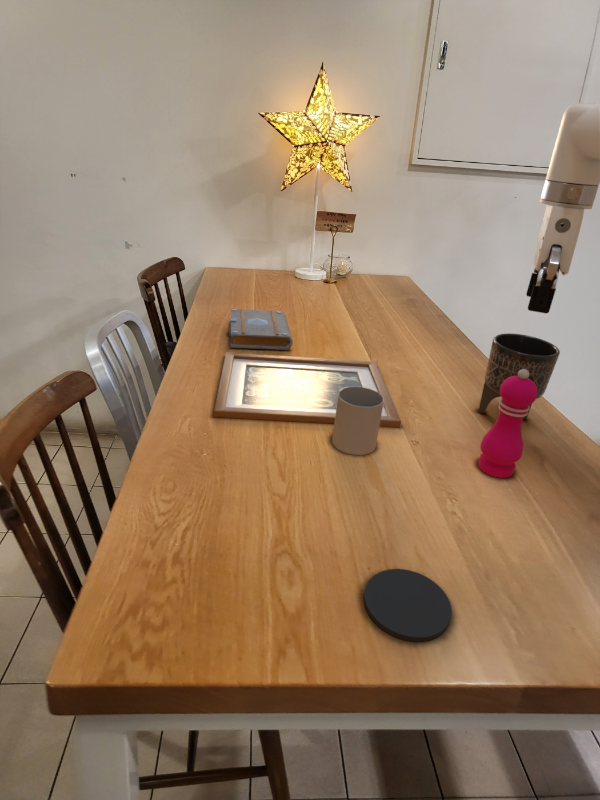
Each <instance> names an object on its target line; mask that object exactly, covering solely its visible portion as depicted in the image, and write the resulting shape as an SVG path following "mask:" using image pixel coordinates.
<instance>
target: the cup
mask: <svg viewBox="0 0 600 800" xmlns="http://www.w3.org/2000/svg"><path fill="white" fill-rule="evenodd" d="M383 403H384V399H383V396H382V395H381V394H379V393H378V392H376V391H374V390H372V389H369V388H364V387H347V388H343V389H342V390H340V391H339V394H338V401H337V408H336V416H335V423H334V424H333V431H332V438H331V439H332V440H331V444H332V445H333V446H334V447H335V449H336V450H339V451H340V452H343V453H345V454H349V455H353V456H364V455H368V454H371V453H373V452H374V450H376V447H377V440H378V437H379V430H380V427H381V426H380V420H381V414H382V409H383Z"/></svg>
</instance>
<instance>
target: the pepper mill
mask: <svg viewBox="0 0 600 800" xmlns="http://www.w3.org/2000/svg"><path fill="white" fill-rule="evenodd" d="M528 377H529V371H528V370H526V369H522V370H520V371H519V372H518V376H511V377H509V378H507V379H506V380H504V382H503V383H502V385H501V387H500V395H501V397H500V399H499V404H498V407H497V408H498V410H499V413H498V416H497V419H496V421H495V423H494V424H493V425H492V426H491V427H490V428H489V429H488V431H487V432H486V433H485V434H484V436H483V437H482V440H481V442H480V446H479V447H480V451H481V454H480V455H479V459H478V463H477V466H478V467H479V469H480V470H481V471H482V472H483V473H485V474H487V475H489V476H491V477H495V478H500V479H501V478H502V479H504V478H505V479H506V478H510V477H511V476H512V475H513V474H514V472H515V468H516V463H517V462H518V461H520V459H521V458H522V456H523V452H524V440H523V436H522V424H523V421H524V420H523V418H524V416H527V415H528V416H529V414H528V410H529V409H530V410H531V408H530V407H529V405H530V404H532V405H533V403H534V402H535V401H536V400H537V399H536V397H537V386H536V385H535V383H534V382H533V381H532V380H530V379H529V378H528ZM528 416H527V417H528Z"/></svg>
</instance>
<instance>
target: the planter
mask: <svg viewBox="0 0 600 800" xmlns="http://www.w3.org/2000/svg"><path fill="white" fill-rule="evenodd" d="M560 354H561V351H560V349H559V348H558V346H557V345H555V344H553V343H551V342H549V341H547V340H545V339H542V338H538V337H535V336H531V335H526V334H521V333H499V334H497V335H495V336H494V337H493V338H492V343H491V347H490V352H489V356H488V361H487V365H486V371H485V374H484V375H485V376H484V383H483V388H482V393H481V397H480V401H479V402H480V403H479V407H478V410H477V411H478V413H481V414H485V413H486V411H487V409H488V407H489V404H491V402H492V401H493V400H494V399H496V398H502V397H501V395H500V387H501V385H502V383H503V382H504V380H506V379H507V378H509V377H511V376H518V372H519V371H520V370H522V369H526V370H528V371H529V377H528V378H529V379H530V380H532V381H533V382H534V383H535V385H536V386H537V397H536V400H538V399H540V398H542V396H544V394H546V391H547V388H548V385H549V383H550V380H551V378H552V375H553V372H554V369H555V367H556V365H557V362H558V359H559V356H560ZM532 405H533V403H532V404H530V405H529V407H530V409H529V410H528V415H527V416H524V418H523V420H522V421H525V420H527V419H528V416H529V413H530V411H531V408H532Z"/></svg>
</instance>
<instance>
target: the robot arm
mask: <svg viewBox="0 0 600 800" xmlns="http://www.w3.org/2000/svg"><path fill="white" fill-rule="evenodd" d="M558 128H559V129H558V132H557V136H556V140H555V144H554V147H553V151H552V154H551V158H550V162H549V166H548V170H547V173H546V177H545V180H544V183H543V188H542V191H541V195H540V199H539V203H540V204H542V205H546V207H545V210H544V214H543V218H542V221H541V225H540V230H539V233H538V237H537V242H536V246H535V251H534V257H533V265H534V268H533V272H531V276H530V278H529V281H528V282H529V283H528V287H527V290H526V293H525V295H526V296H527V297H528V298H529V301H528V304H527V311H530V312H536V313H540V314H548V313H549V312H550V310H551V307H552V304H553V300H554V297H555V294H556V290H557V288H556V287H557V283H558V278H559V273H561V275H562V276H566V275H568V274H569V272H570V268H571V265H572V262H573V261H572V260H573V257H574V253H575V249H576V246H577V242H578V239H579V235H580V231H581V227H582V223H583V219H584V213H585V210H592V209H593V205H594V202H595V199H596V197H597V193H598V190H599V186H600V103H595V102H578V103H577V102H576V103H572V104H570V105H569V106H567V108H566V109H565V110H564V112H563V114H562V118H561V121H560V125H559V127H558Z"/></svg>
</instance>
